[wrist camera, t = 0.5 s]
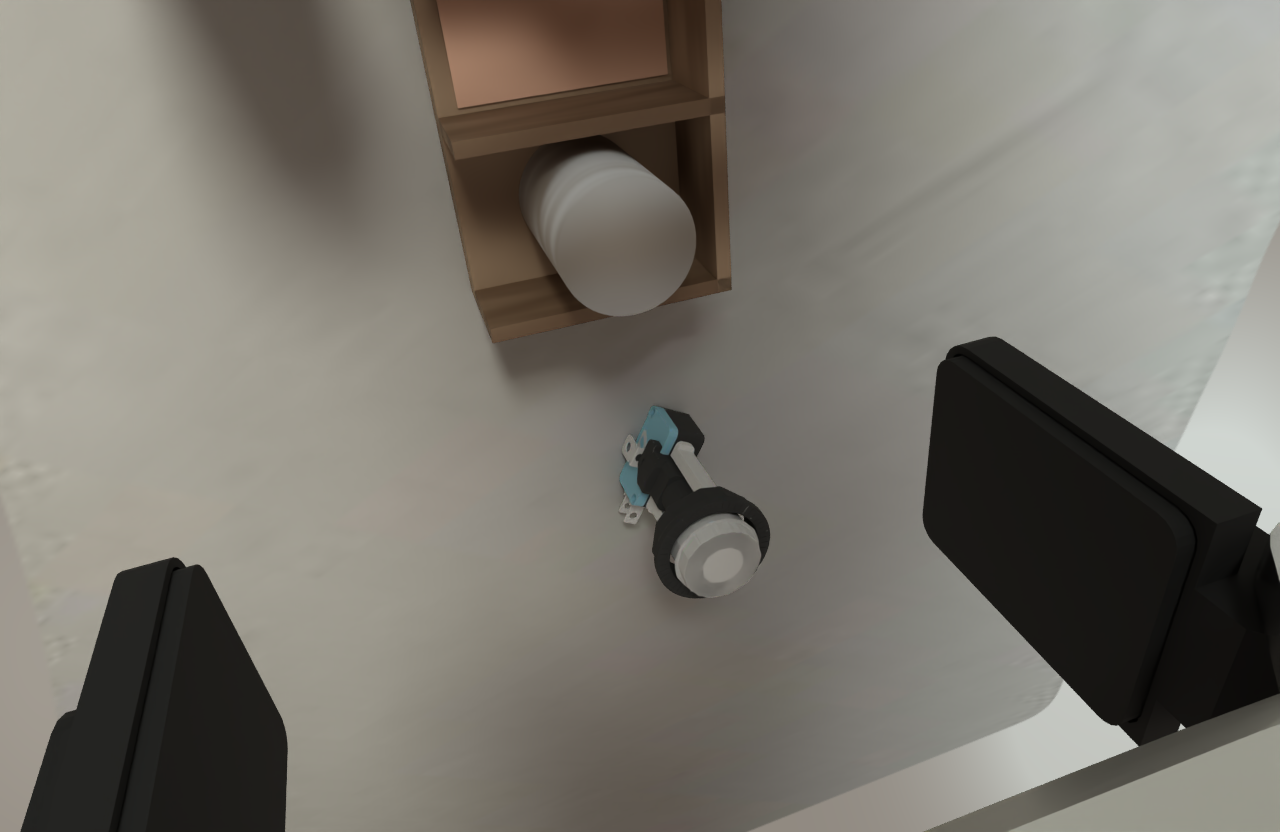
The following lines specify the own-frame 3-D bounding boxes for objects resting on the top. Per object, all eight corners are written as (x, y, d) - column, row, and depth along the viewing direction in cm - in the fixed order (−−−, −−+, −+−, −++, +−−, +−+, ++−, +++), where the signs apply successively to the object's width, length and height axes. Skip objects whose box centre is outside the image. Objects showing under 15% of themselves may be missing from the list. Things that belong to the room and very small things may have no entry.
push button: (662, 514, 48) (733, 641, 39) (575, 498, 45) (632, 630, 37) (713, 412, 45) (800, 525, 37) (624, 389, 43) (697, 504, 35)
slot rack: (330, -374, 26) (335, -475, 19) (643, -387, 28) (750, -481, 21) (472, 290, 38) (506, 378, 31) (684, 245, 40) (762, 318, 33)
